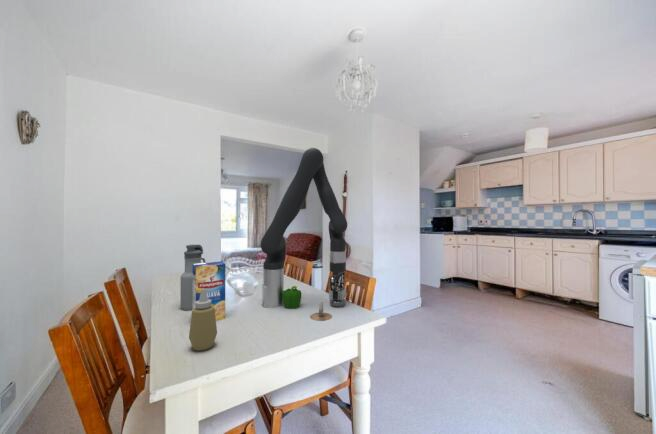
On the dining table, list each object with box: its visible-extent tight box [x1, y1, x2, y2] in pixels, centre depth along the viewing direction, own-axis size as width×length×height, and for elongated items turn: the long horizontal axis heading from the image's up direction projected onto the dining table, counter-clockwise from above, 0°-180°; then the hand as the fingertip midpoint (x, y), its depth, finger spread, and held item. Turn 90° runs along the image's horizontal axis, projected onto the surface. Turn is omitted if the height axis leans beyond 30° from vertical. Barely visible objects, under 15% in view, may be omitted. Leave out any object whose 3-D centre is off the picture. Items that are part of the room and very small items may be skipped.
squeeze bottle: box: [188, 289, 218, 352], centre depth 84 cm, size 8×8×18 cm
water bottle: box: [180, 244, 206, 311], centre depth 120 cm, size 10×10×28 cm
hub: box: [329, 288, 346, 309], centre depth 121 cm, size 10×10×8 cm
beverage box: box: [191, 261, 226, 321], centre depth 106 cm, size 7×11×22 cm, turn 127°
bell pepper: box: [282, 285, 302, 310], centre depth 119 cm, size 8×8×10 cm
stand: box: [309, 301, 333, 322], centre depth 108 cm, size 9×9×6 cm
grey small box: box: [328, 286, 347, 300], centre depth 122 cm, size 6×6×4 cm
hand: (337, 297), depth 122 cm, fingers closed on grey small box, 6 cm apart
